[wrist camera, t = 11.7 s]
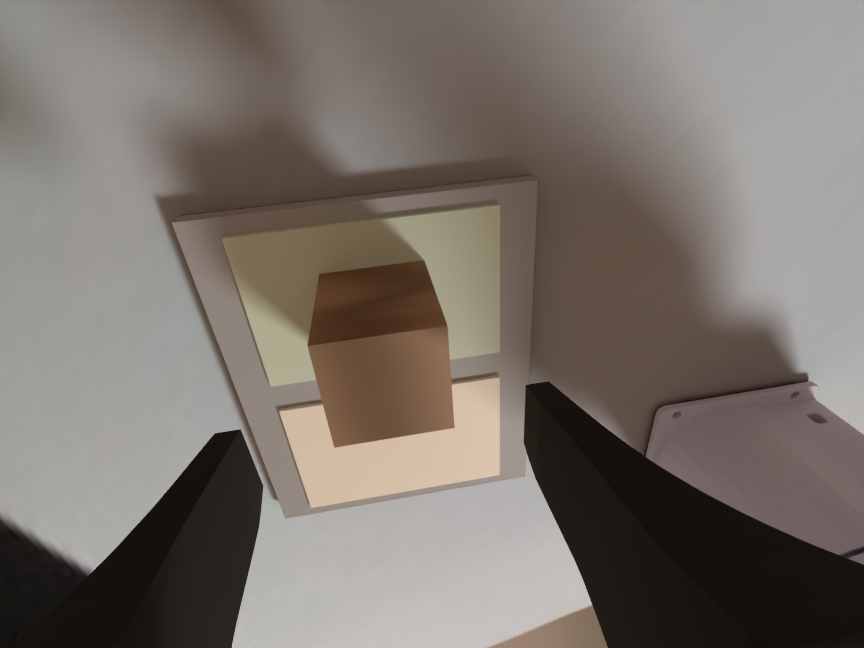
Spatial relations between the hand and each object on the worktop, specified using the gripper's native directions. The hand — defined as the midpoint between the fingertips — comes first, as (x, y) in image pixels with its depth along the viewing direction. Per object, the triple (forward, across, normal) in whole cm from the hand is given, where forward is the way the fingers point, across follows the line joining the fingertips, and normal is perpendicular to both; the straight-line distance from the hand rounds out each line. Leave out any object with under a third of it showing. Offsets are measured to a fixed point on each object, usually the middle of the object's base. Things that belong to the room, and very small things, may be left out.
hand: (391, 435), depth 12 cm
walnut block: (+7, 0, 0) cm, 7 cm away
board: (+8, 0, +4) cm, 9 cm away
